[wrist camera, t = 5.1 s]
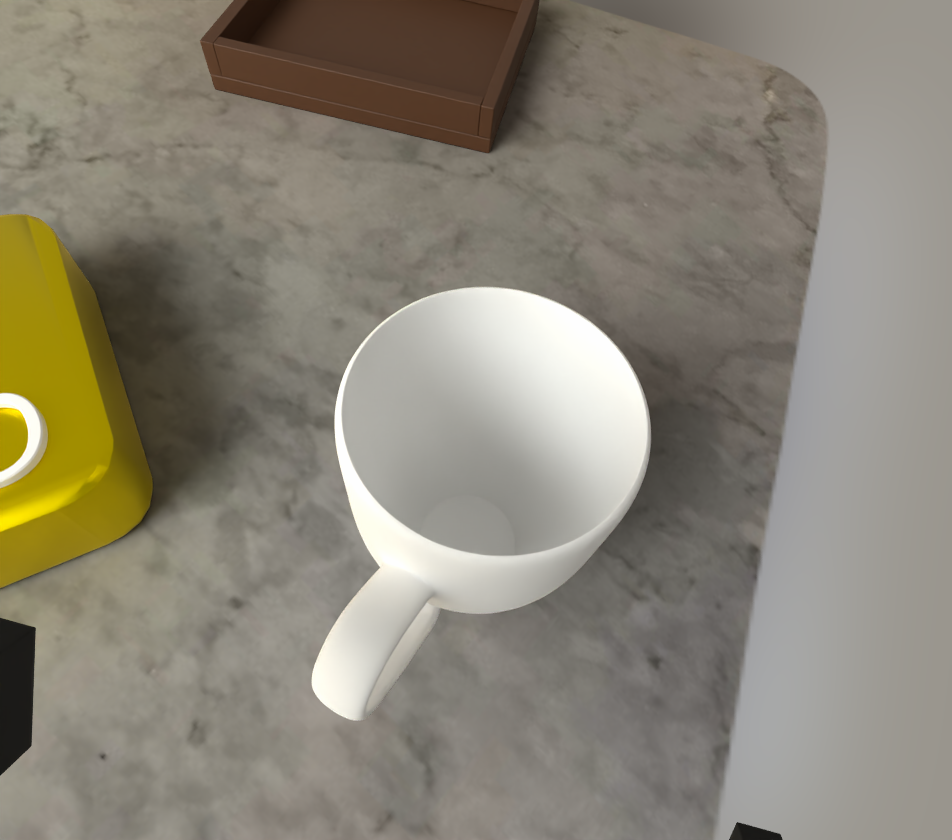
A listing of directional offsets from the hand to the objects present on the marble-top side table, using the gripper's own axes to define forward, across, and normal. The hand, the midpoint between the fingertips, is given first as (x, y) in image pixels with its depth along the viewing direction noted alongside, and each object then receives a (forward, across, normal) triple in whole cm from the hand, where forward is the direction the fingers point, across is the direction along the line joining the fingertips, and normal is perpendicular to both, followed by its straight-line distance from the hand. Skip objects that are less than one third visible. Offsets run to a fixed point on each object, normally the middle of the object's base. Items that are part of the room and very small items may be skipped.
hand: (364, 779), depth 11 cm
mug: (+13, 0, -4) cm, 14 cm away
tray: (+37, -13, +20) cm, 44 cm away
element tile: (+13, -22, -4) cm, 26 cm away
